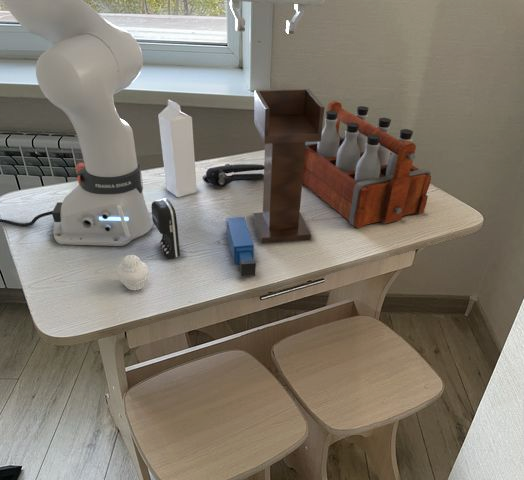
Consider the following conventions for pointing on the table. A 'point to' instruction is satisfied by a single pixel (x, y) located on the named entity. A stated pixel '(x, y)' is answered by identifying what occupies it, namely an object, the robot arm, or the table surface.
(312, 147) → the milk bottle holder
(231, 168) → the can opener
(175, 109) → the milk
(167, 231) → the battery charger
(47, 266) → the table surface
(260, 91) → the wooden pedestal stand
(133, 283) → the muffin
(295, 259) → the table surface
